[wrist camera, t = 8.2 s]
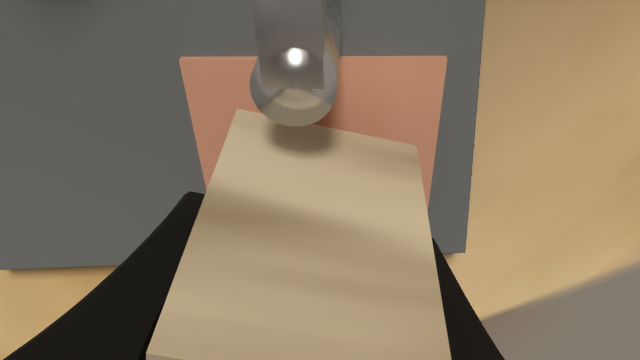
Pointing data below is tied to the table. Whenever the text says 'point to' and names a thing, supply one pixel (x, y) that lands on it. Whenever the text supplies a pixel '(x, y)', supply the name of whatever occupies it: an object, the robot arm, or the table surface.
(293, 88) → the bent wire
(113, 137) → the board
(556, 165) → the table surface
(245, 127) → the birch block
